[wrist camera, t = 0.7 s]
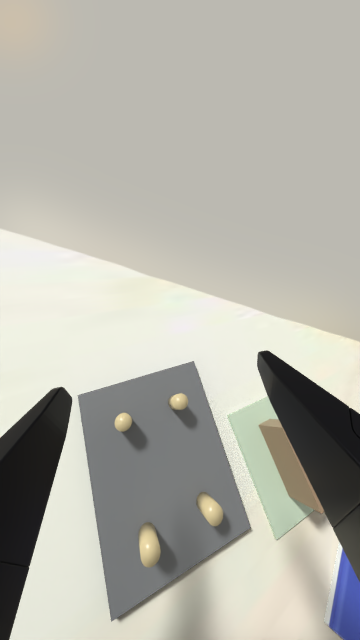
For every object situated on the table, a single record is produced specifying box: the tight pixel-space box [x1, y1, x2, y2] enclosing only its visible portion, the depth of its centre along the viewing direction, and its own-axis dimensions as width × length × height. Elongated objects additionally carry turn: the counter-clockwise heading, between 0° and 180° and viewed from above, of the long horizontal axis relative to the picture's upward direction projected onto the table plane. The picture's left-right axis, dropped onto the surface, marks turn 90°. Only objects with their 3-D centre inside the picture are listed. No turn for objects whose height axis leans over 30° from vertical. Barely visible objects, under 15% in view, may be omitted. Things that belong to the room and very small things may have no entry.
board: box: [227, 396, 324, 540], centre depth 24 cm, size 13×9×5 cm
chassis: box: [78, 361, 251, 622], centre depth 21 cm, size 18×14×4 cm
